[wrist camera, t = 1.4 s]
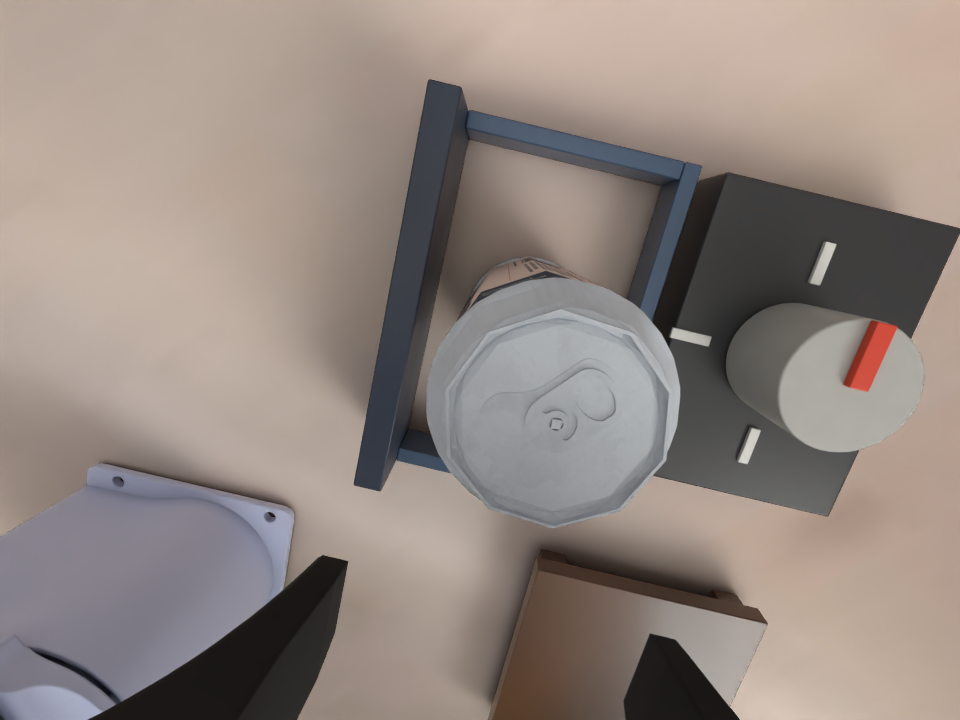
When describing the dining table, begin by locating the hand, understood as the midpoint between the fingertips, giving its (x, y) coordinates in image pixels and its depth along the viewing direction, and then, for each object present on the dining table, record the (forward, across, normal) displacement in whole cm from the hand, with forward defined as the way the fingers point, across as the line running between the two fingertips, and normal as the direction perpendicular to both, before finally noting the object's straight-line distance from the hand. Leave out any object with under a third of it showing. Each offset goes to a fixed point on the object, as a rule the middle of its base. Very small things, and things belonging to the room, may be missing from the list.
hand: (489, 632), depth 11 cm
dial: (+8, -9, -7) cm, 14 cm away
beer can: (+11, 0, -6) cm, 12 cm away
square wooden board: (+10, -8, +9) cm, 16 cm away
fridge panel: (+10, -9, -7) cm, 15 cm away
